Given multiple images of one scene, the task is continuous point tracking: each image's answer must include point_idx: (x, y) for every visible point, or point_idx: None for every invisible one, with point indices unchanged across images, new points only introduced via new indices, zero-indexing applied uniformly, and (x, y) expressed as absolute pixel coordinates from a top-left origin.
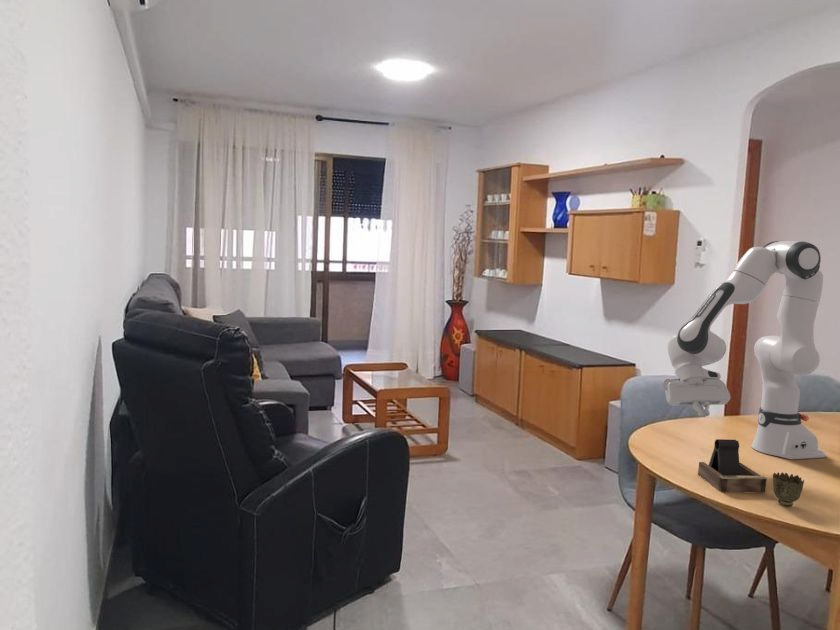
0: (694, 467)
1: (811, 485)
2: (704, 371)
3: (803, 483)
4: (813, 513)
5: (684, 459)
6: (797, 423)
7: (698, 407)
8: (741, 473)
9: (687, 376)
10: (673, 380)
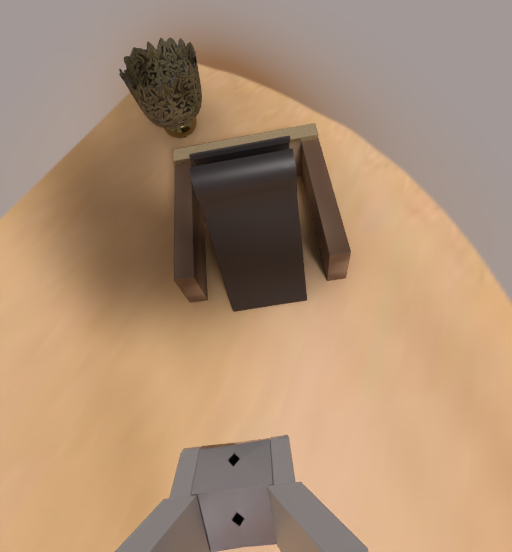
0: (336, 357)
1: (8, 261)
2: None
3: (134, 58)
4: None
5: (357, 471)
6: None
7: (307, 503)
8: (200, 250)
9: None
10: None
